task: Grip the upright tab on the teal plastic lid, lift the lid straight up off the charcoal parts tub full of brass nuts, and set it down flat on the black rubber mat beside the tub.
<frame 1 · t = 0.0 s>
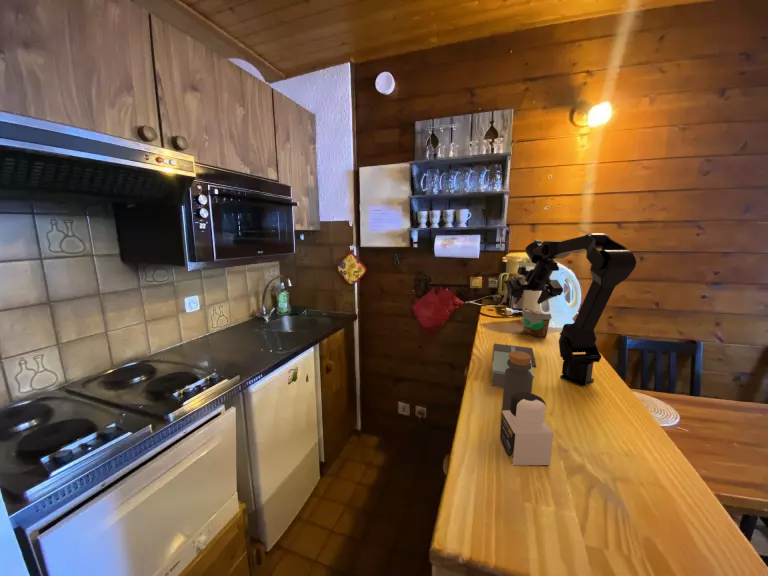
hand: (526, 303, 119), 15 cm above the breakfast bar, tool tilted 35°, fingers open, 9 cm apart
lid: (511, 367, 92), point 3 cm above the breakfast bar, touching tub
tub: (511, 377, 92), on the breakfast bar
bottle: (514, 414, 74), on the breakfast bar
food container: (530, 335, 128), on the breakfast bar
mat: (513, 354, 108), on the breakfast bar
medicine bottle: (523, 453, 62), on the breakfast bar
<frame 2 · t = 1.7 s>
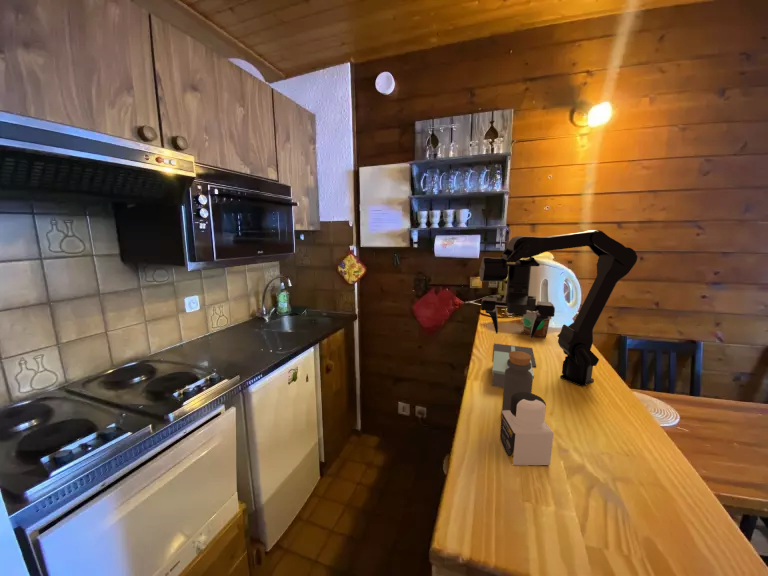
hand: (513, 335, 90), 13 cm above the breakfast bar, tool pointing down, fingers open, 9 cm apart
nothing on the breakfast bar moved.
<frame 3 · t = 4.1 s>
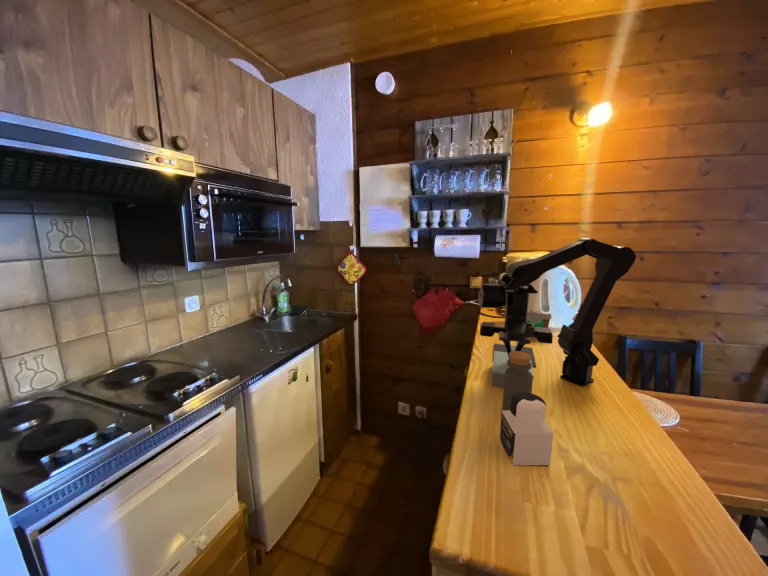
hand: (512, 359, 91), 6 cm above the breakfast bar, tool pointing down, fingers closed on lid
lid: (511, 367, 92), point 3 cm above the breakfast bar, touching gripper
everything else where it was.
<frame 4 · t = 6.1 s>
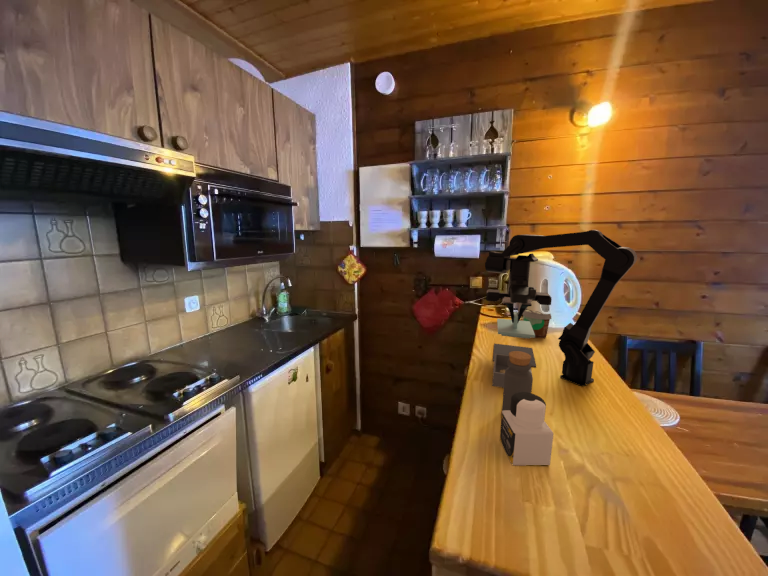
hand: (515, 322, 101), 13 cm above the breakfast bar, tool pointing down, fingers closed on lid
lid: (514, 330, 102), point 10 cm above the breakfast bar, touching gripper
everything else where it was.
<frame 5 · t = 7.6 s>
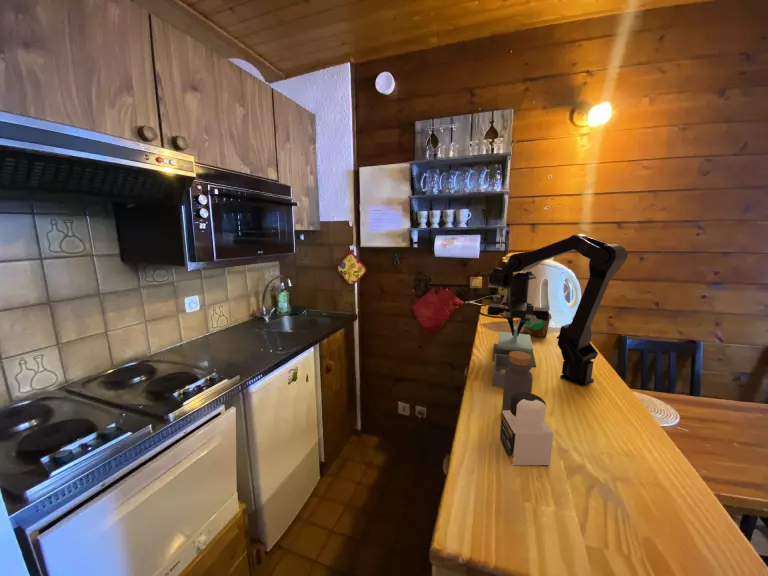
hand: (515, 335, 107), 7 cm above the breakfast bar, tool pointing down, fingers closed on lid
lid: (514, 344, 108), point 4 cm above the breakfast bar, touching gripper
everything else where it was.
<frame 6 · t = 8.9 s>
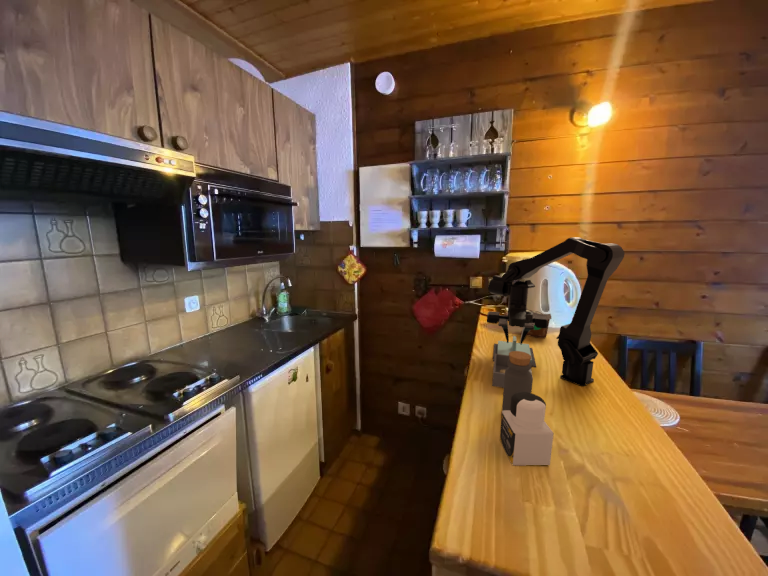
hand: (514, 343, 108), 4 cm above the breakfast bar, tool pointing down, fingers open, 4 cm apart
lid: (513, 353, 108), resting on mat
everything else where it was.
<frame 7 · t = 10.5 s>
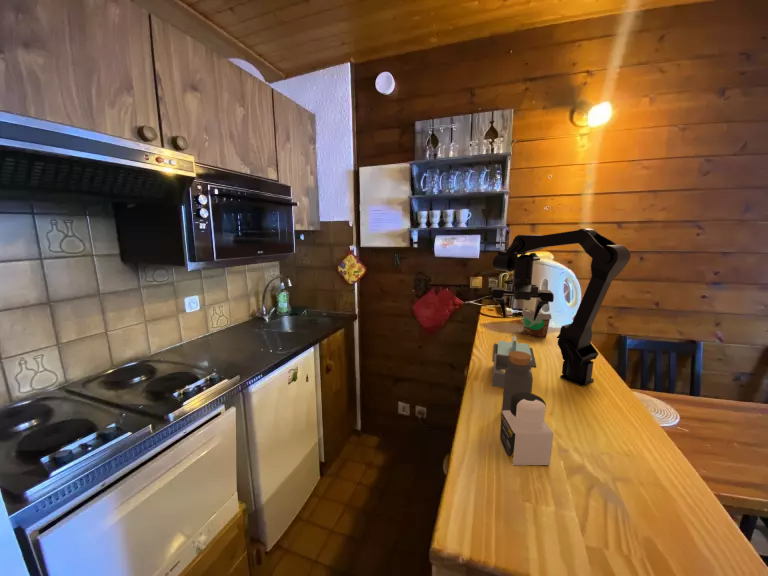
hand: (519, 319, 106), 13 cm above the breakfast bar, tool pointing down, fingers open, 9 cm apart
nothing on the breakfast bar moved.
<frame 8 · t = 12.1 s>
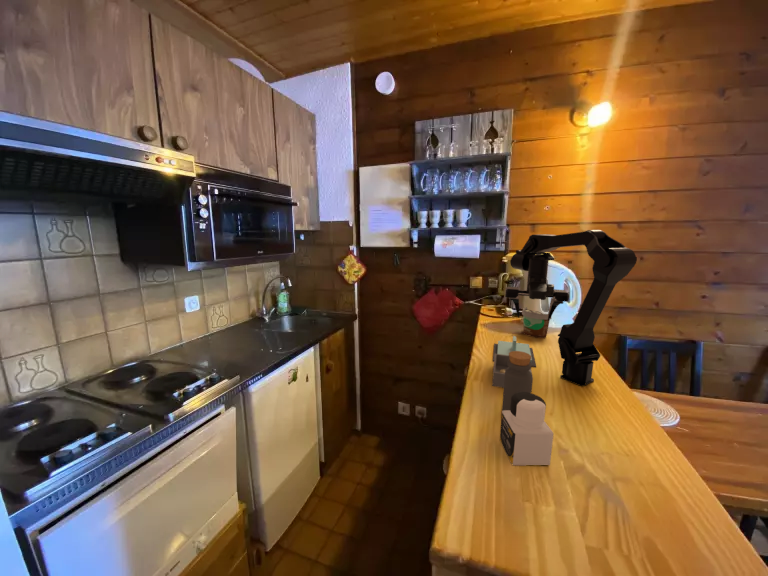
hand: (533, 318, 106), 13 cm above the breakfast bar, tool pointing down, fingers open, 9 cm apart
nothing on the breakfast bar moved.
at the end: lid inside the target area on the mat (0.1 cm from its centre), point 0.4 cm above the mat's base; lid tilted 0°; the gripper is holding nothing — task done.
